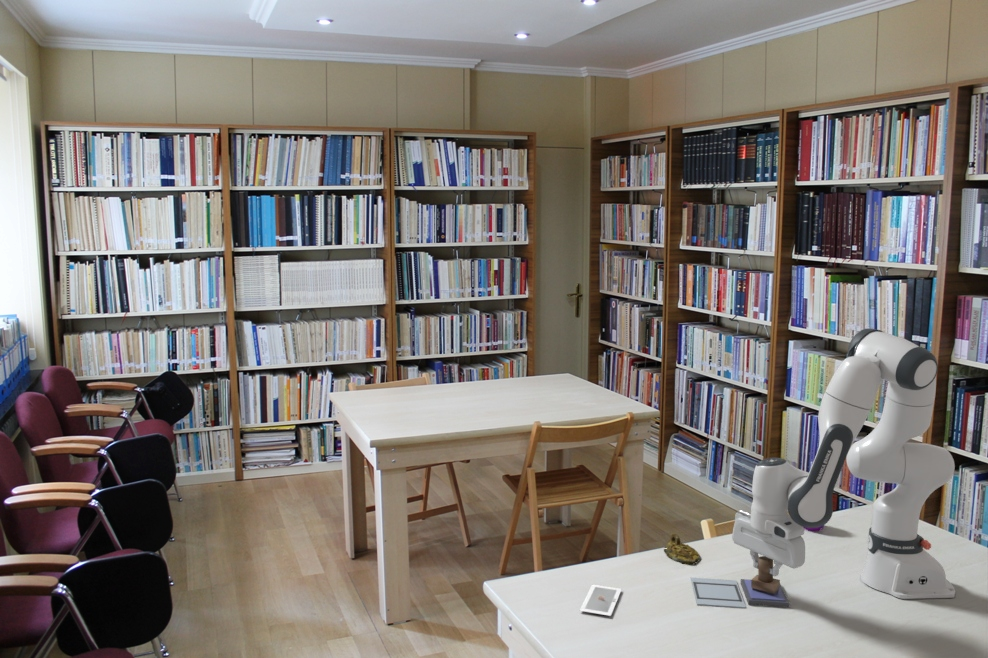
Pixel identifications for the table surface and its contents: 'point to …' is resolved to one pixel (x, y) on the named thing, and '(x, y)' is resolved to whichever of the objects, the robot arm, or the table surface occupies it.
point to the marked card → (717, 592)
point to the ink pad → (764, 596)
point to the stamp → (765, 577)
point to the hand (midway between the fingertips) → (765, 571)
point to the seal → (681, 551)
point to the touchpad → (600, 600)
